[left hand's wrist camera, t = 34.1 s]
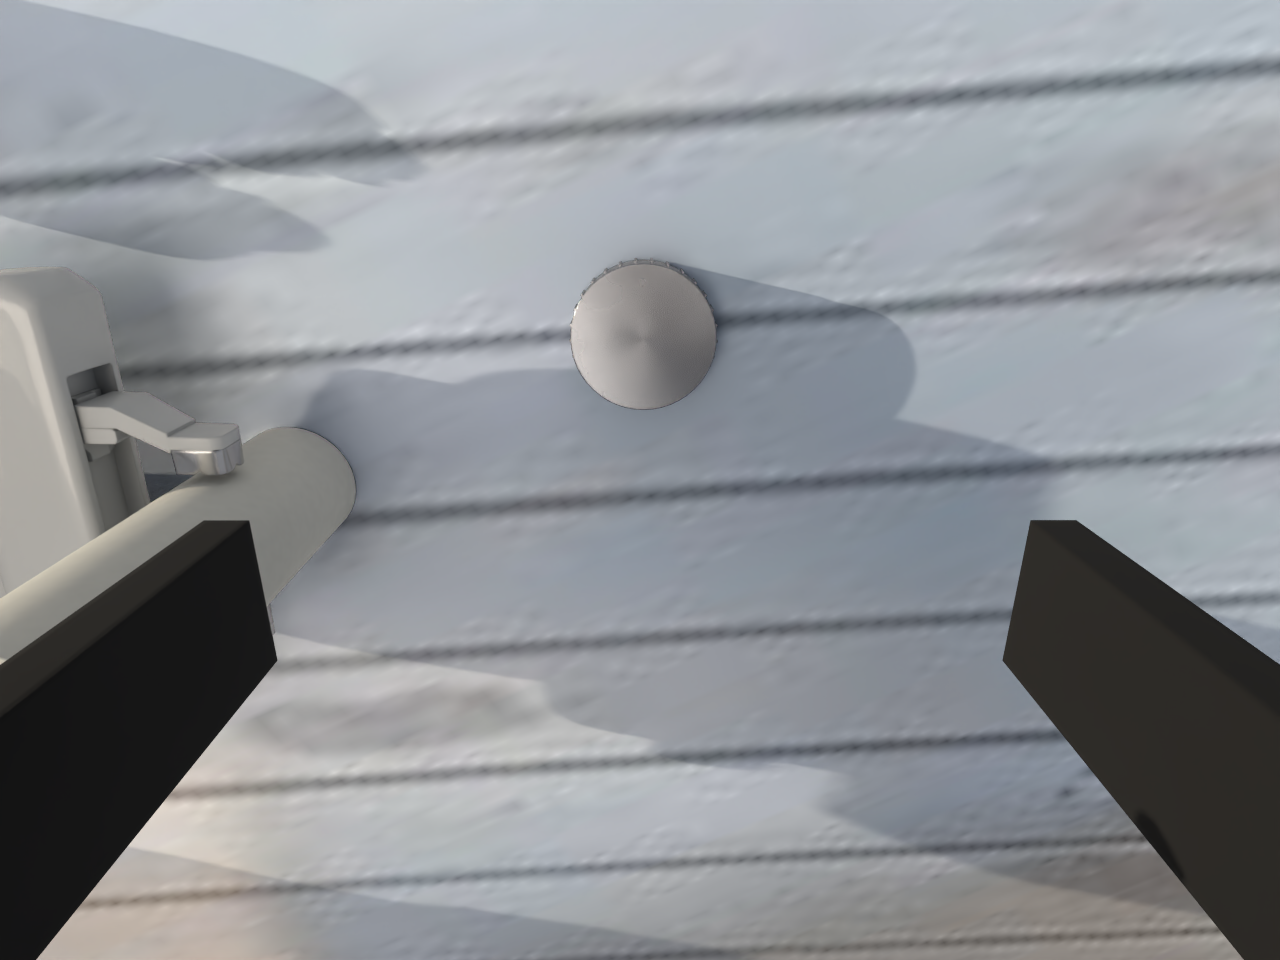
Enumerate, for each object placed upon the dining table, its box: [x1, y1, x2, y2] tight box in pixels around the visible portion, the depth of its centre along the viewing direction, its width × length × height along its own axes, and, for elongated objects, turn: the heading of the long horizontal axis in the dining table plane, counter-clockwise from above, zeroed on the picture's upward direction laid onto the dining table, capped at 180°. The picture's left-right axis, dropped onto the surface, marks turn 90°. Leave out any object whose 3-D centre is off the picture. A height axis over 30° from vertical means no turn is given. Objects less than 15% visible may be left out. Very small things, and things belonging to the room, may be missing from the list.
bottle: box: [0, 427, 356, 665], centre depth 26 cm, size 6×6×19 cm
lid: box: [570, 258, 717, 410], centre depth 31 cm, size 6×6×2 cm
